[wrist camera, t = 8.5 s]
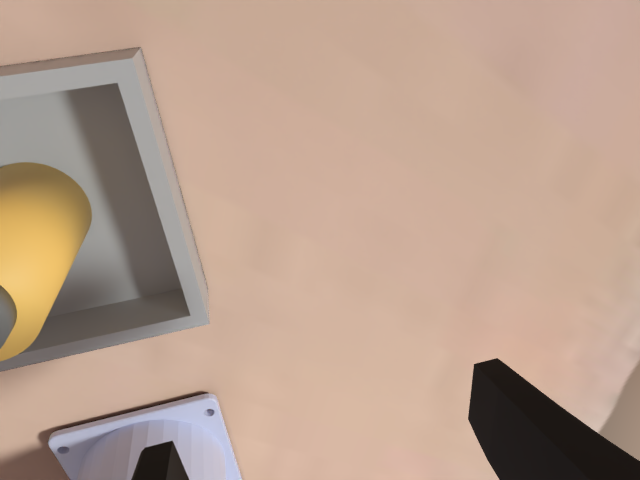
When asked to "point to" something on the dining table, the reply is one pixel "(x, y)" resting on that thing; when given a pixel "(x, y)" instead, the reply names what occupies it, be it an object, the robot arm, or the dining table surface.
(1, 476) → the dining table surface
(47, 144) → the grey tray
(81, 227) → the cylinder
